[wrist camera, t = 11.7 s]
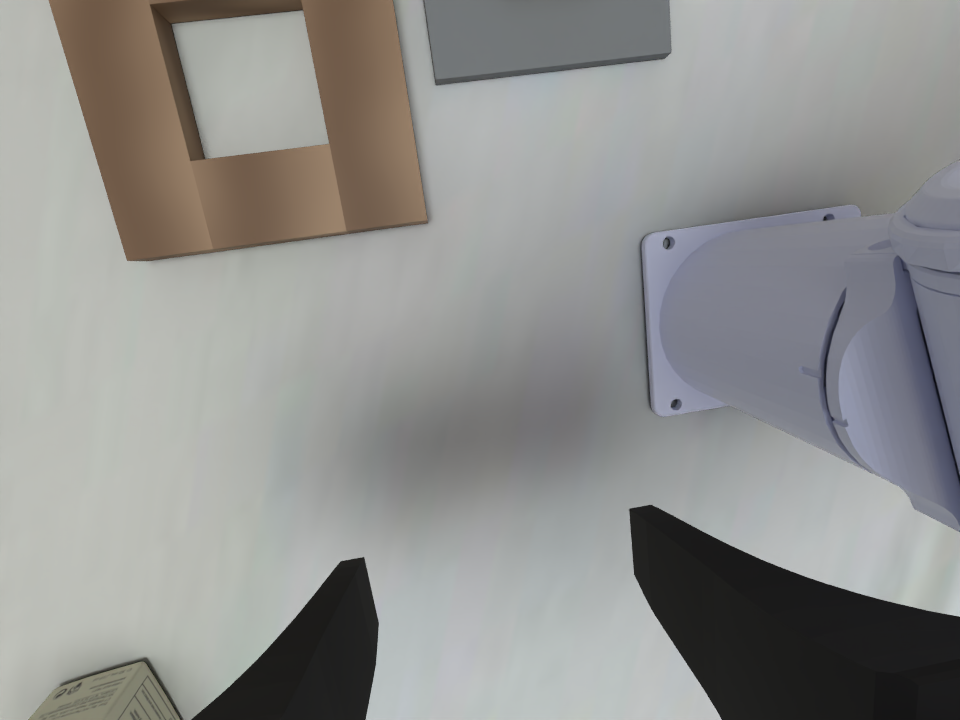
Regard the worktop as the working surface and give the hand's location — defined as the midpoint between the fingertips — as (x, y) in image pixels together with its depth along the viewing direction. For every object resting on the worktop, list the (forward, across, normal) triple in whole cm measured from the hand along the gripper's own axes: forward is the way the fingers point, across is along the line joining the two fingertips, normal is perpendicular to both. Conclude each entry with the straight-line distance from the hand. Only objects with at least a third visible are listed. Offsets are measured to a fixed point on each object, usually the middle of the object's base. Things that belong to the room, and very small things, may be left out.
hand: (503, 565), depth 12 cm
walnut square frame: (+8, +6, -15) cm, 18 cm away
